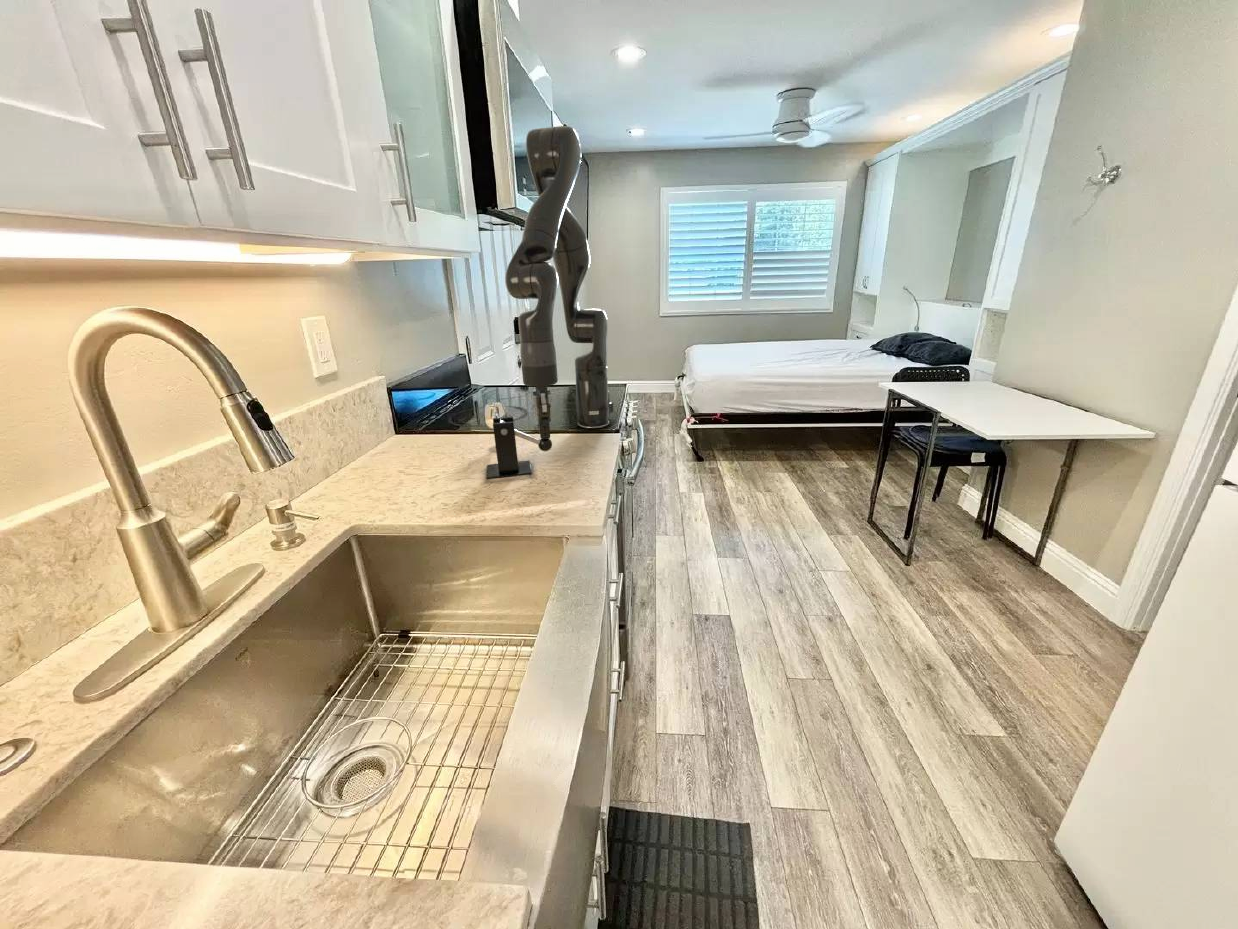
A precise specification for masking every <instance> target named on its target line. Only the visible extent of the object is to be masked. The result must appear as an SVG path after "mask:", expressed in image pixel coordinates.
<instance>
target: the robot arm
mask: <svg viewBox="0 0 1238 929" xmlns="http://www.w3.org/2000/svg"><path fill="white" fill-rule="evenodd" d="M581 148H582V147H581V142H580V139H579V135H578V133H577V132H576V130H575V128H573V127H571V126H568V125H560V126H559V125H557V126H549V127H541V128H533V129H531V130H529V131H528V132H527V134H526V138H525V149H526V157H527V162H528V166H529V170H530V172H531V176H532V180H533V183H534V186H535V190H536V192H537V196H538V197H537V198H536V200H535V201H533V202H534V203H532V205H531V207H530V209H528V210H529V211H528V213H527V215H526V217H525V222H524V227H523V233H522V237H521V240H520V243H519V245H518V246H517V248H516V250H515V252H514V254H513V255H512V257H511V259H510V261H509V263H508V265H507V268H506V272H505V277H504V282H505V288H506V290H507V292H508V293H509V295H510V296H511V297H512V298H514V299H517V300H537V304H536V306H535V308H534V309H531V310H528V311H527V310H526V311H524V312H522V313H520V314H519V316H518V330H519V341H520V342H519V343H520V348H519V351H520V352H519V354H520V364H521V373H522V383H523V384H524V386H527V387H531V388H532V387H534V389H535V391H531V393H532V394H531V395H532V400H533V404H534V412H535V414H536V416H537V419H536V420H537V423H538V429H539V437H540V439H551V427H550V423H551V421H552V418H551V413H552V403H551V402H552V393H551V390H550V389H548V386H554V385H556V384H557V383H558V380H559V379H558V364H557V353H556V352H557V351H556V347H555V341H554V327H553V325H554V324H553V318H554V310H555V303H556V298H557V293H558V288H559V289H560V294H561V301H562V307H563V314H564V322H565V327H566V332H567V335H568V338H569V340H570V341H571V342H572V343H575V344H592V349H591V350H590V351H588V352H587V353H585V354H581V355H578V356H577V357H575V358H574V374H575V391H576V408H577V409H576V410H577V426H578V427H579V428H581V429H584V430H585V429H586V430H599V429H604V428H607V427H608V426H610V423H611V413H614V402H613V401H611V400H610V397H611V396H610V391H609V383H608V382H609V381H608V317H607V314H606V312H605V310H604V309H602V308H580V306H579V292H580V289H581V287H582V284H583V282H584V280H585V279H586V276H587V273H588V271H589V268H590V264H591V255H590V254H591V253H590V249H589V243H588V238H587V234H586V231H585V229H584V228H583V226H582V224H581V223H580V222H579V220H578V219H577V218H576V216H575V215H574V214H573V213H572V212H571V210H570V209H569V208H568V207H567V203H568V201H569V198H570V196H571V193H572V190H573V188H574V185H575V182H576V179H577V177H578V174H579V170H580V165H581V162H582V161H581V160H582V149H581ZM550 260H553V263H554V266H553V264H551V262H548V261H550Z"/></svg>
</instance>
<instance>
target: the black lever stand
mask: <svg viewBox="0 0 1238 929" xmlns="http://www.w3.org/2000/svg"><path fill="white" fill-rule="evenodd" d="M500 420H502V421H505V422H501V423H499V421H500ZM514 429H515V423H514V416H507V417H501V418H493V438H494V445H495V452H496V460H497V463H491V464H486V474H485V475H486V476H485V478H486V480H494V479H495V480H496V479H503V478H504V479H505V478H512V477H521V476H522V477H523V476H531V475H533V471H532V466H531V461H530V460H519V458H518V451H517V450H518V449H517V441H516V440H517V439H516V435H515V431H514Z"/></svg>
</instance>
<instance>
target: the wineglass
mask: <svg viewBox="0 0 1238 929" xmlns="http://www.w3.org/2000/svg"><path fill="white" fill-rule="evenodd" d="M483 416H484V417H483V419H484V423H485V425H486V426H487V427H488V428H490V429H493V418H501V417H508V412H507V409H506V407H505V404H504V403H503V402H499V401H498V402H489V403H486V404H484V411H483ZM493 430H494V429H493Z"/></svg>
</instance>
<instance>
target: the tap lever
mask: <svg viewBox="0 0 1238 929" xmlns="http://www.w3.org/2000/svg"><path fill="white" fill-rule="evenodd" d="M501 422H505V421H502V420H500V421H499V423H501ZM514 431H515V437H518V438H520V439H523V440H526V441H528V442H531V443H533V444H535V445H537V446H538V449H539V450H540V451H542V452H549V451H550V450H552V447H553V442H552V439H551V438H549V439H541V438H537V437H535V436H532V435H530V434H528V433H525V432H522V431H520V430H517V429H515V428H514Z"/></svg>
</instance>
